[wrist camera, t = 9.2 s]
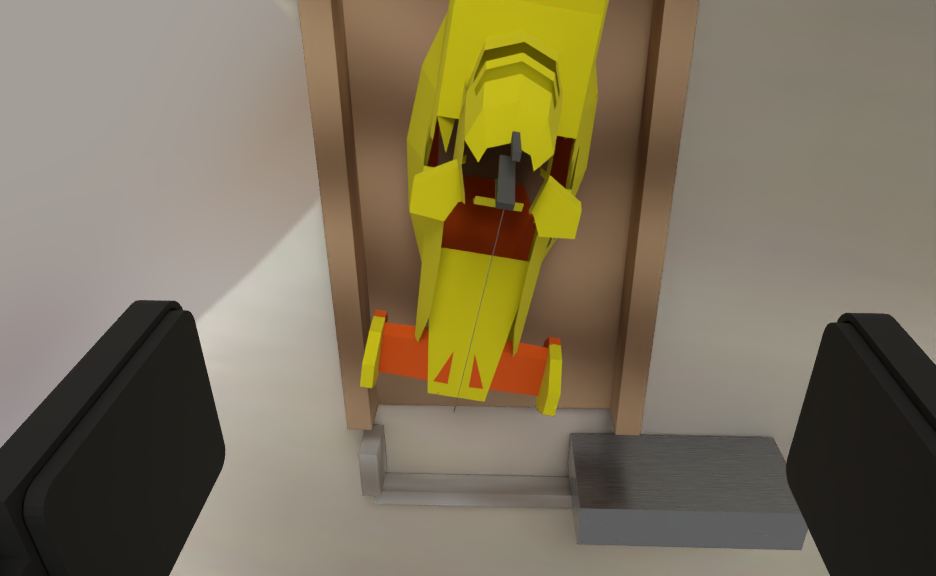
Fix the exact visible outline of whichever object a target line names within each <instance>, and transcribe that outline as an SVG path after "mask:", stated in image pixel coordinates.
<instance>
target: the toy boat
mask: <svg viewBox="0 0 936 576" xmlns="http://www.w3.org/2000/svg"><path fill="white" fill-rule="evenodd" d="M608 3H609V0H449V4H448V11H447V14H446V16H445V18H444V20H443V22H442V24H441V26H440V28H439V31H438V33H437V35H436V37H435V39H434V41H433V43H432V45H431V47H430V50H429V52H428V54H427V56H426V58H425V60H424V62H423V64H422V68H421V73H420V77H419V82H418V87H417V92H416V97H415V102H414V106H413V111H412V116H411V121H410V126H409V130H408V135H407V166H408V201H409V212H410V215H411V220H412V224H413V228H414V232H415V236H416V241H417V245H418V249H419V253H420V258H421V262H422V266H421V276H420V287H419V297H418V307H417V318H416V326H411V325H403V324H394V323H387V319H388V315H387V311H382V310H375V313H374V316H373V320H372V323H371V327H370V330H369V335H368V339H367V344H366V348H365V353H364V358H363V362H362V370H361V381H360V387H367V388H373V387H374V386H375V385H376V381H377V378H378V374H379V372H384V373H389V374H395V375H400V376H406V377H412V378H417V379H423V380H428V393H431V394H438V395H444V396H451V397H457V399H458V398H464V399H470V400H477V401H483V402H484V401H485V399H486V396H487V393H488V390H495V391H502V392H510V393H518V394H526V395H533V396H536V406H537V410H538V411H539V412H541V413H542V414H543V415H550V416H555V412H556V409H557V405H558V402H559V398H560V394H561V374H562V353H561V342H560V338H554V337H548V338H547V339H546V340H545V341H544V345H543V347H541V346H536V345H531V344H526V343H521V342H520V339H521V335H522V332H523V328H524V325H525V321H526V317H527V314H528V310H529V307H530V303H531V299H532V296H533V292H534V289H535V285H536V281H537V278H538V274H539V271H540V267H541V263H542V261H543V260H544V258H545V256H546V255H547V253H548V252H549V250H550V249H551V247H552V245H553V244H554V242H555V241H556V239H557V238H566V239H575V235H576V231H577V227H578V223H579V220H580V216H581V212H582V209H581V202H580V201H579V200H578V199H577V198H576V197H575V196H576V194H577V191H578V189H579V186H580V184H581V181H582V179H583V176H584V174H585V171H586V169H587V163H588V157H589V150H590V144H591V138H592V131H593V125H594V119H595V112H596V106H597V100H598V87H597V75H596V58H597V53H598V49H599V44H600V39H601V35H602V30H603V26H604V21H605V16H606V12H607V7H608ZM455 119H459V123H458V129H457V136H456V142H455V149H454V156H453V160H452V161H450V162H447V163H444V164H442V165H439V166H438V152H439V130H440V131H441V135H442V139H443V144H444V148H445V152H446V151H447V147H448V144H449V140H450V136H451V133H452V129H453V126H454V122H455ZM464 140H465V142H466V143H467V145H468V147H469V148H470V150H471V151H472V153H473V155H474V156H475V158H476V160H477V161H478V162H479V160H480V159H481V157H482V155H483V154H484V152H485V150H486V149H487V148H490V147H495V146H500V145H504V144H509V143H511V156H512V157H511V156H505V155H500V157H499V175H498V179H497V178H495V180H492V179H486V178H480V177H474V176H468V175H463V174H462V164H464V163H466V156H467V155H465V156H463V152H464ZM555 144H556V145H555ZM522 150H523V151H524V152H526V153H527V154H529V155H531V159H532V165H533V170H534V171H535V170H536V169H537V168H539V167H540V166H541V165H542V164H543V163H544V162H546V161H547V160H548V159H549V162H548V167H547V171H545V170H543V169H542V168H541V167H540V175H541V176H542V177H543V178H544V179H545V180H544V182H543V184H542V186H541V188H540V190H539V192H538V193H537V195H536V197H535V199H534V201H533V203H532V205H531V204H530V201H529V198H528V195H527V192H526V189H525V185H522V184H516V183H515V161H518V162H520V159H521V154H522ZM554 150H555V152H554ZM428 318H429V327H426V326H427V321H428ZM507 339H508V340H507ZM456 403H457V401H456ZM455 407H456V405H455ZM454 411H455V409H454Z"/></svg>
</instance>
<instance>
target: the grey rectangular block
mask: <svg viewBox="0 0 936 576" xmlns="http://www.w3.org/2000/svg"><path fill="white" fill-rule="evenodd" d="M568 472H569V481H570V489H571V498H572V506H573V515H574V523H575V532H576V540H577V544H591V545H628V546H665V547H703V548H740V549H777V550H801V549H802V546H803V543H804V540H805V536H806V533H807V530H808V527H807V524H806V522H805V520H804V518H803V516H802V514H801V511H800V509H799V507H798V505H797V503H796V501H795V499H794V496H793V494H792V492H791V490H790V488H789V485H788V482H787V477H786V462H785V460H784V458H783V456H782V454H781V452H780V450H779V448H778V446H777V444H776V442H775V440H774V439H773V438H760V437H710V436H661V435H611V434H570V447H569V460H568Z"/></svg>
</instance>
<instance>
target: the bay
mask: <svg viewBox="0 0 936 576" xmlns="http://www.w3.org/2000/svg"><path fill="white" fill-rule="evenodd" d="M448 4H449V0H298V6H299V15H300V24H301V32H302V41H303V49H304V58H305V67H306V75H307V84H308V92H309V101H310V109H311V118H312V126H313V135H314V143H315V153H316V161H317V170H318V178H319V186H320V196H321V204H322V213H323V221H324V230H325V239H326V247H327V256H328V264H329V273H330V282H331V290H332V299H333V307H334V316H335V325H336V333H337V342H338V350H339V359H340V368H341V376H342V385H343V393H344V402H345V410H346V419H347V428H348V429H360V430H365V431H364V435H363V439H362V442H361V446H360V450H359V454H358V456H359V465H360V474H361V484H362V493H363V496H374V504H403V505H443V506H483V507H524V508H564V509H573V506H572V498H571V489H570V481H569V477H541V476H498V475H454V474H410V473H385V472H386V467H387V459H386V448H385V436H384V425H373V422H374V418H375V414H376V411H377V407H378V404H390V405H443V406H455V405H456V406H497V407H537V406H536V396H533V395H526V394H518V393H510V392H502V391H495V390H488V393H487V396H486V399H485V401H484V402H483V401H477V400H470V399H464V398H458V399H457V397H451V396H444V395H438V394H431V393H428V380H423V379H417V378H412V377H406V376H400V375H395V374H389V373H384V372H379V374H378V378H377V381H376V385H375V386H374V387H373V388H367V387H360V381H361V370H362V362H363V358H364V353H365V348H366V344H367V339H368V335H369V330H370V327H371V323H372V320H373V316H374V313H375V310H382V311H387V315H388V319H387V323H394V324H403V325H411V326H416V318H417V307H418V297H419V287H420V276H421V266H422V262H421V258H420V253H419V249H418V245H417V241H416V236H415V232H414V228H413V224H412V220H411V215H410V212H409V201H408V166H407V135H408V130H409V126H410V121H411V116H412V111H413V106H414V102H415V97H416V92H417V87H418V82H419V77H420V73H421V68H422V64H423V62H424V60H425V58H426V56H427V54H428V52H429V50H430V47H431V45H432V43H433V41H434V39H435V37H436V35H437V33H438V31H439V28H440V26H441V24H442V22H443V20H444V18H445V16H446V14H447V11H448ZM698 6H699V0H609V3H608V7H607V12H606V16H605V21H604V26H603V30H602V35H601V39H600V44H599V49H598V53H597V58H596V75H597V87H598V100H597V106H596V112H595V119H594V125H593V131H592V138H591V144H590V150H589V157H588V163H587V169H586V171H585V174H584V176H583V179H582V181H581V184H580V186H579V189H578V191H577V194H576V196H575V197H576V198H577V199H578V200H579V201H580V202H581V209H582V212H581V216H580V220H579V223H578V227H577V231H576V235H575V239H566V238H557V239H556V241H555V242H554V244H553V245H552V247H551V249H550V250H549V252H548V253H547V255H546V256H545V258H544V260H543V261H542V263H541V267H540V271H539V274H538V278H537V281H536V285H535V289H534V292H533V296H532V299H531V303H530V307H529V310H528V314H527V317H526V321H525V325H524V328H523V332H522V335H521V339H520V342H521V343H526V344H531V345H536V346H541V347H543V345H544V341H545V340H546V339H547V338H548V337H554V338H560V342H561V353H562V374H561V394H560V398H559V402H558V405H557V408H604V409H610V412H611V417H612V421H613V426H614V430H615V435H640V433H641V426H642V418H643V411H644V403H645V396H646V389H647V381H648V374H649V367H650V359H651V352H652V345H653V337H654V330H655V322H656V315H657V308H658V300H659V293H660V286H661V278H662V271H663V264H664V256H665V249H666V242H667V234H668V227H669V219H670V212H671V205H672V197H673V190H674V183H675V175H676V168H677V161H678V153H679V146H680V138H681V131H682V124H683V116H684V109H685V102H686V94H687V87H688V80H689V72H690V65H691V58H692V50H693V43H694V35H695V28H696V21H697V13H698ZM458 123H459V119H455V122H454V126H453V129H452V133H451V136H450V140H449V144H448V147H447V151H446V152H445V148H444V144H443V139H442V135H441V131H440V130H439V152H438V166H439V165H442V164H444V163H447V162H450V161H452V160H453V156H454V149H455V142H456V136H457V129H458ZM555 145H556V144H555ZM554 152H555V150H554ZM465 155H467V156H466V163H464V164H462V174H463V175H468V176H474V177H480V178H486V179H492V180H495V178H497V179H498V175H499V157H500V155H505V156H511V143H509V144H504V145H500V146H495V147H490V148H487V149H486V150H485V152H484V154H483V155H482V157H481V159H480V160H479V162H478V161H477V160H476V158H475V156H474V155H473V153H472V151H471V150H470V148H469V147H468V145H467V143H466V142H465V140H464V152H463V156H465ZM511 157H512V156H511ZM548 162H549V159H548V160H547V161H546V162H544V163H543V164H542V165H541V166H540V167H541V168H542V169H543V170H545V171H547V167H548ZM540 167H539V168H537V169H536V170H535V171H534V170H533V165H532V159H531V155H529V154H527V153H526V152H524V151H523V150H522V154H521V159H520V162H518V161H515V183H516V184H522V185H525V189H526V192H527V195H528V198H529V201H530V204H531V205H532V203H533V201H534V199H535V197H536V195H537V193H538V192H539V190H540V188H541V186H542V184H543V182H544V180H545V179H544V178H543V177H542V176H541V175H540ZM426 327H429V318H428V321H427V326H426ZM507 340H508V339H507ZM456 401H457V403H456Z"/></svg>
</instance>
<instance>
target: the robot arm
mask: <svg viewBox="0 0 936 576" xmlns="http://www.w3.org/2000/svg"><path fill="white" fill-rule="evenodd" d="M224 460H225V444H224V440H223V435H222V431H221V427H220V423H219V419H218V415H217V411H216V406H215V402H214V398H213V394H212V390H211V386H210V382H209V378H208V373H207V369H206V365H205V361H204V357H203V353H202V349H201V344H200V340H199V336H198V332H197V328H196V324H195V320H194V317H193V315H192V313H191V312H189V311H184V310H183V309H182V307H181V306H180V304H179V303H178V302H176V301H153V300H152V301H151V300H149V301H148V300H139V301H135V302H134V303H132V304H131V305H130V306H129V308H128V309H127V310H126V311H125V312H124V313H123V314H122V315H121V316H120V317H119V318H118V320H117V321H116V322H115V323H114V324H113V325H112V326H111V327H110V328H109V329H108V331H107V332H106V333H105V334H104V335H103V336H102V337H101V338H100V339H99V340H98V341H97V343H96V344H95V345H94V346H93V347H92V348H91V349H90V350H89V351H88V352H87V354H86V355H85V356H84V357H83V358H82V359H81V360H80V361H79V362H78V364H77V365H76V366H75V367H74V368H73V369H72V370H71V371H70V372H69V373H68V374H67V376H66V377H65V378H64V379H63V380H62V381H61V382H60V383H59V384H58V385H57V387H56V388H55V389H54V390H53V391H52V392H51V393H50V394H49V395H48V396H47V398H46V399H45V400H44V401H43V402H42V403H41V404H40V405H39V406H38V408H37V409H36V410H35V411H34V412H33V413H32V414H31V415H30V416H29V417H28V419H27V420H26V421H25V422H24V423H23V424H22V425H21V426H20V427H19V428H18V429H17V431H16V432H15V433H14V434H13V435H12V436H11V437H10V438H9V439H8V440H7V441H6V443H5V444H4V445H3V446H2V447H1V448H0V576H169V575H170V573H171V571H172V569H173V567H174V565H175V563H176V561H177V559H178V557H179V554H180V552H181V550H182V548H183V546H184V544H185V542H186V540H187V538H188V536H189V534H190V532H191V530H192V528H193V526H194V524H195V522H196V520H197V518H198V516H199V514H200V512H201V510H202V508H203V506H204V504H205V502H206V500H207V498H208V496H209V494H210V492H211V490H212V488H213V486H214V484H215V482H216V480H217V478H218V476H219V474H220V472H221V470H222V467H223V464H224ZM786 477H787V482H788V485H789V488H790V490H791V492H792V494H793V496H794V499H795V501H796V503H797V505H798V507H799V509H800V511H801V514H802V516H803V518H804V520H805V522H806V524H807V527H808V529H809V531H810V533H811V535H812V537H813V540H814V542H815V544H816V546H817V548H818V550H819V553H820V555H821V557H822V559H823V561H824V563H825V565H826V568H827V570H828V572H829V574H830V576H936V365H935V364H934V363H933V362H932V360H931V359H930V358H929V357H928V356H927V355H926V354H925V353H924V351H923V350H922V349H921V348H920V347H919V346H918V345H917V344H916V342H915V341H914V340H913V339H912V338H911V337H910V336H909V335H908V333H907V332H906V331H905V330H904V329H903V328H902V327H901V326H900V324H899V323H898V322H897V321H896V320H895V319H894V318H893V317H892V316H891V315H889V314H876V313H845V314H843V315H841V317H840V318H839V319H838V321H837V323H830V324H828V325H827V326H826V328H825V330H824V333H823V336H822V340H821V343H820V347H819V350H818V354H817V357H816V361H815V364H814V368H813V371H812V375H811V378H810V382H809V385H808V389H807V392H806V395H805V399H804V402H803V406H802V409H801V413H800V416H799V420H798V423H797V427H796V430H795V434H794V437H793V441H792V444H791V448H790V451H789V455H788V458H787V463H786Z"/></svg>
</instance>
